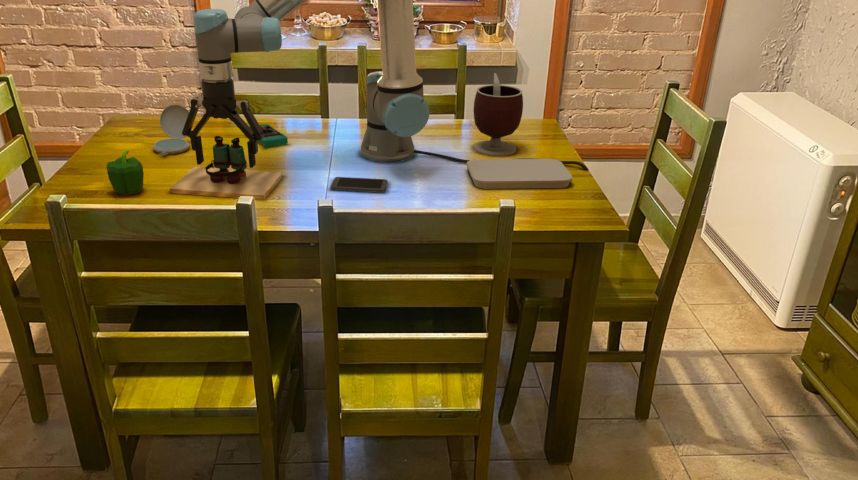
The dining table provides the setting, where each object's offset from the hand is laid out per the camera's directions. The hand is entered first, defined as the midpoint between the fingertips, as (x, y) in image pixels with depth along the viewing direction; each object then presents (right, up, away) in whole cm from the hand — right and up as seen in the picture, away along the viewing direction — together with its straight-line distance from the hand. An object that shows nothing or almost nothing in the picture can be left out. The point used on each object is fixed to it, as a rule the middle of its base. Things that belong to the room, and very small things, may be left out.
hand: (226, 164), depth 184 cm
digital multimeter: (+4, +12, +34) cm, 36 cm away
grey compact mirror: (-22, +8, +25) cm, 34 cm away
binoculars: (0, -4, +2) cm, 4 cm away
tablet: (+75, -2, +11) cm, 75 cm away
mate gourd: (+71, +10, +31) cm, 78 cm away
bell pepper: (-23, -7, -3) cm, 25 cm away
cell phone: (+33, -5, +3) cm, 34 cm away
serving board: (0, -5, +3) cm, 5 cm away
